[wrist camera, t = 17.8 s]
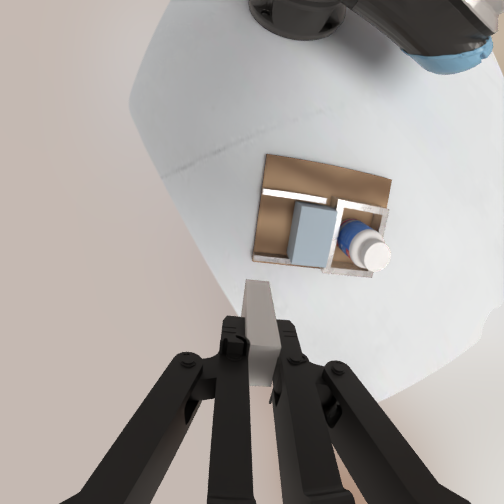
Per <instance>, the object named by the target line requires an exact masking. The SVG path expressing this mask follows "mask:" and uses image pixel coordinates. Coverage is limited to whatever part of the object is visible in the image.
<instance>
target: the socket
mask: <svg viewBox="0 0 504 504" xmlns="http://www.w3.org/2000/svg"><path fill="white" fill-rule="evenodd" d="M330 207H331V208H333V209H334V210H336V211H338V214H337V219H336V224H335V229H334V234H333V239H332V243H331V248H330V252H329V257H328V261H327V265H326V268H323V267H319V268H320V269H321V271H322V273H327V274H337V275H348V276H358V277H369V278H372V276H373V272H372V271H369V270H368V269H367V268H361V267H359V266H357V265H356V264H354V263H346V262H338V261H332V260H333V256H334V251H335V247H336V242H337V238H338V233H339V229H340V224H341V219H342V214H343V209H344V208H349V209H355V210H360V211H365V212H370V213H373V217H372V221H371V226H370V227H371V228H372V229H374V230H375V231H377V232H379V233H380V234H381V235H382V237H383V235H384V231H385V227H386V222H387V218H388V213H389V209H387V208H384V207H382V206H379V205H374V204H370V203H365V202H360V201H355V200H350V199H345V198H339V197H334V196H332V198H331V203H330Z"/></svg>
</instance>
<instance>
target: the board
mask: <svg viewBox="0 0 504 504" xmlns="http://www.w3.org/2000/svg"><path fill="white" fill-rule="evenodd" d="M391 181H392V180H390V179H387V178H383V177H379V176H375V175H371V174H367V173H363V172H359V171H355V170H351V169H346V168H342V167H337V166H332V165H328V164H323V163H317V162H312V161H307V160H301V159H295V158H289V157H283V156H277V155H270V154H267V155H266V163H265V170H264V177H263V184H262V189H263V188H270V189H278V190H285V191H291V192H298V193H304V194H310V195H316V196H322V197H325V198H327V200H326V204H324V203H318V202H311V201H305V200H299V199H292V198H285V197H278V196H271V195H263V194H262V192H261V199H260V206H259V213H258V220H257V228H256V235H255V242H254V249H253V254H254V252H263V253H272V254H280V255H287V247H288V242H289V236H290V230H291V224H292V219H293V213H294V206H295V201H302V202H308V203H315V204H321V205H327V206H329V207H330V203H331V198H332V196H334V197H339V198H345V199H350V200H355V201H360V202H365V203H370V204H374V205H379V206H382V207H384V208H387V203H388V198H389V192H390V187H391ZM372 217H373V213H370V212H365V211H360V210H355V209H349V208H344V209H343V214H342V219H341V222H343V221H344V220H346V219H351V218H353V219H357V220H359V221H361V222H363V223H364V224H366V225H367V226H369V227H370V226H371V221H372ZM252 261H253V262H262V263H271V264H281V265H290V266H300V267H309V268H319V267H314V266H313V267H311V266H301V265H292V264H282V263H273V262H264V261H254V260H253V257H252ZM332 261H338V262H346V263H353V262H352V260H351V259H350V258H349V257H348V256H347V255H346V254H345V253H344V252H343V251H342V250H341V249H340V248H339V247H338V246H337V244H336V247H335V251H334V256H333V260H332ZM319 269H320V268H319Z"/></svg>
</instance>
